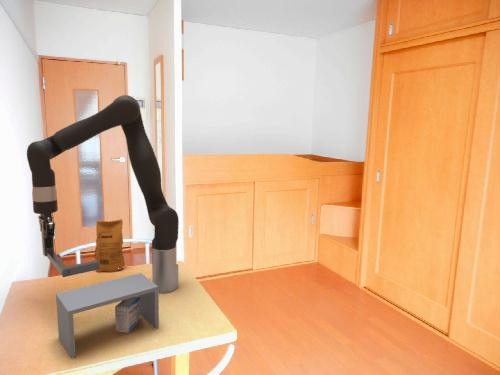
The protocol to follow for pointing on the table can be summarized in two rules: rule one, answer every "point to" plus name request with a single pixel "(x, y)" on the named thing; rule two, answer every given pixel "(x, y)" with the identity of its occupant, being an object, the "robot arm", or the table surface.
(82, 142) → the robot arm
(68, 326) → the cubby
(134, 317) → the medicine box
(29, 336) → the table surface
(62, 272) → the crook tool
